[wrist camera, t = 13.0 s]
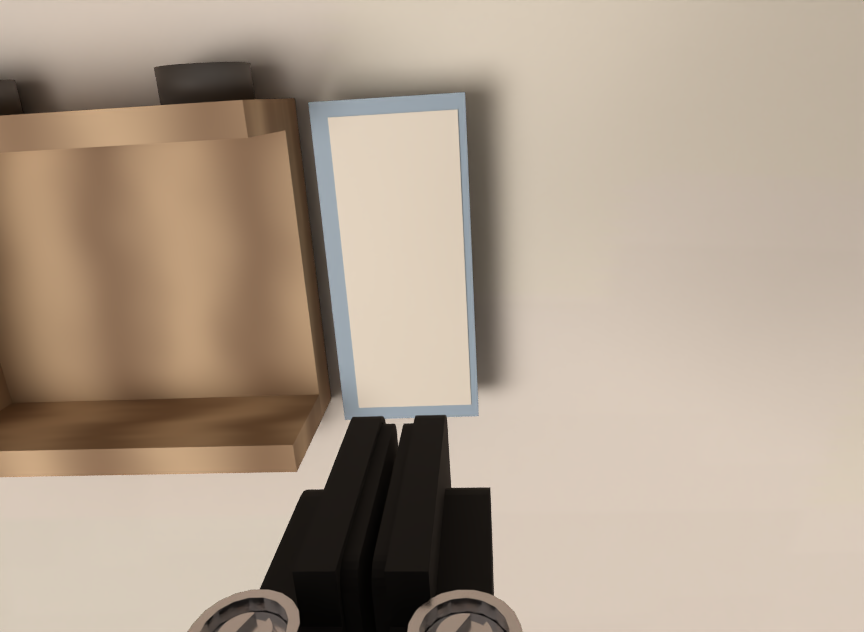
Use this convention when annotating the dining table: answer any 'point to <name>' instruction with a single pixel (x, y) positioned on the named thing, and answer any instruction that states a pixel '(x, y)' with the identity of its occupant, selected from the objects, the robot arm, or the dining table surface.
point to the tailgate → (399, 252)
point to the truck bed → (158, 284)
